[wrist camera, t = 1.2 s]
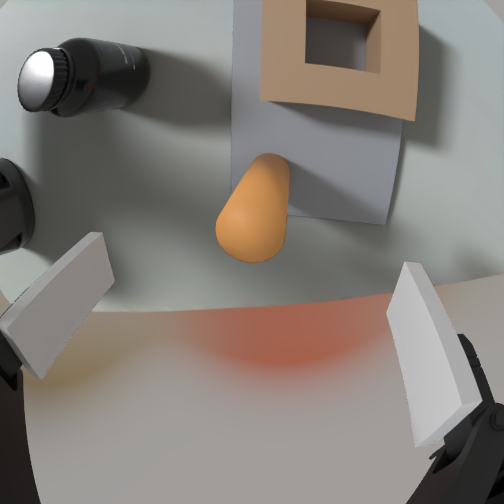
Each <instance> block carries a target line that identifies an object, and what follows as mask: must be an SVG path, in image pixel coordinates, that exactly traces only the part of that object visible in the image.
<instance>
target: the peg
mask: <svg viewBox="0 0 504 504" xmlns="http://www.w3.org/2000/svg"><path fill="white" fill-rule="evenodd" d="M289 183H290V168H289V165H288V163H287V162H286V160H285V159H284V158H283V157H281V156H279V155H277V154H274V153H265V154H261V155H259V156H258V157H256V158H255V159H254V161H253V162H252V164H251V165H250V167H249V168H248V170H247V171H246V173H245V174H244V176H243V178H242V179H241V181H240V182H239V184H238V186H237V187H236V189H235V190H234V192H233V194H232V195H231V197H230V198H229V200H228V202H227V203H226V205H225V207H224V208H223V210H222V211H221V213H220V215H219V217H218V219H217V222H216V236H217V239H218V242H219V244H220V245H221V247H222V248H223V249H224V251H225V252H226V253H228V254H229V255H230V256H232V257H233V258H235V259H237V260H240V261H243V262H248V263H258V262H263V261H266V260H268V259H270V258H272V257H274V256H275V255H276V254H277V253H278V252H279V251H280V249H281V248H282V246H283V244H284V241H285V234H286V222H287V210H288V197H289Z"/></svg>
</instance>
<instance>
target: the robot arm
mask: <svg viewBox="0 0 504 504" xmlns="http://www.w3.org/2000/svg"><path fill="white" fill-rule="evenodd" d="M33 230H34V212H33V206H32V202H31V198H30V195H29V192H28V189H27V186H26V184H25V182H24V180H23V178H22V176H21V174H20V173H19V171H18V170H17V168H16V167H15V166H14V165H13V164H12V163H11V162H9V161H8V160H6V159H2V158H0V255H3V254H6V253H9V252H12V251H15V250H18V249H19V248H21V247H22V246H23V245H25V244H26V243H27V242H28V241H29V240H30V239H31V237H32V234H33ZM114 282H115V279H114V276H113V272H112V269H111V265H110V261H109V257H108V253H107V249H106V245H105V241H104V237H103V233H100V232H90V233H89V234H87V235H86V236H85V237H84V238H83V239H81V240H80V241H79V242H78V243H77V244H76V245H74V246H73V247H72V248H71V249H70V250H69V251H67V252H66V253H65V254H64V255H63V256H62V257H61V258H60V259H59V260H57V261H56V262H55V263H54V264H53V265H52V266H51V267H50V268H49V269H48V270H47V271H46V272H45V273H43V274H42V275H41V276H40V277H39V278H38V279H37V280H36V281H35V282H34V283H33V284H32V285H31V286H30V287H28V288H27V289H26V290H25V291H24V292H23V293H22V294H21V295H20V297H18V298H17V299H16V300H15V303H13V304H12V305H11V306H10V307H9V308H8V309H7V310H6V311H5V312H4V313H3V315H2V316H1V317H0V504H41V503H40V499H39V496H38V492H37V488H36V484H35V480H34V475H33V470H32V465H31V461H30V454H29V448H28V441H27V433H26V423H25V412H24V393H23V372H22V370H21V369H20V367H21V366H22V364H23V365H24V366H25V368H26V369H27V370H28V372H29V373H30V374H31V375H33V376H35V377H36V378H38V379H40V380H42V379H43V377H44V376H45V374H46V373H47V371H48V370H49V368H50V367H51V365H52V364H53V362H54V361H55V360H56V358H57V357H58V355H59V354H60V352H61V351H62V350H63V348H64V347H65V345H66V344H67V343H68V341H69V340H70V338H71V337H72V336H73V334H74V333H75V332H76V330H77V329H78V328H79V326H80V325H81V324H82V322H83V321H84V320H85V318H86V317H87V316H88V314H89V313H90V312H91V311H92V309H93V308H94V307H95V306H96V304H97V303H98V302H99V301H100V299H101V298H102V297H103V296H104V294H105V293H106V292H107V291H108V289H109V288H110V287H111V286H112V284H113V283H114ZM386 314H387V318H388V321H389V324H390V328H391V332H392V336H393V339H394V343H395V347H396V351H397V355H398V359H399V364H400V368H401V372H402V377H403V381H404V386H405V391H406V396H407V401H408V407H409V412H410V418H411V424H412V431H413V437H414V444H415V448H420V447H426V446H431V445H435V444H436V443H437V442H438V441H439V440H441V439H442V438H443V437H444V441H445V445H444V446H442V447H441V448H440V449H438V450H437V451H436V452H435V453H433V454H432V455H431V456H430V457H429V459H430V460H431V459H433V458H434V457H435V456H436V458H435V460H434V462H433V463H432V465H431V467H430V468H429V470H428V472H427V473H426V475H425V476H424V478H423V480H422V481H421V483H420V484H419V486H418V487H417V489H416V490H415V492H414V493H413V495H412V496H411V497H410V499H409V500H408V501H407V503H406V504H504V405H503V404H500V403H495V401H494V399H493V396H492V393H491V390H490V387H489V384H488V382H487V379H486V376H485V374H484V371H483V369H482V367H481V364H480V361H479V359H478V358H477V354H476V352H475V350H474V348H473V345H472V344H471V343H470V341H469V340H468V339H467V338H466V337H465V335H463V334H456V331H455V329H454V327H453V325H452V323H451V321H450V319H449V316H448V314H447V312H446V310H445V308H444V306H443V304H442V302H441V300H440V298H439V296H438V294H437V293H436V291H435V289H434V287H433V285H432V283H431V281H430V279H429V278H428V276H427V274H426V272H425V271H424V269H423V267H422V265H421V264H420V263H415V262H405V261H404V265H403V268H402V271H401V274H400V277H399V279H398V282H397V285H396V288H395V291H394V293H393V296H392V299H391V302H390V304H389V307H388V309H387V312H386Z"/></svg>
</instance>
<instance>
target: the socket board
mask: <svg viewBox="0 0 504 504" xmlns="http://www.w3.org/2000/svg"><path fill="white" fill-rule="evenodd" d="M418 73H419V21H418V4H417V0H234V17H233V51H232V106H231V195H232V194H233V192H234V190H235V189H236V187H237V186H238V184H239V182H240V181H241V179H242V178H243V176H244V174H245V173H246V171H247V170H248V168H249V167H250V165H251V164H252V162H253V161H254V159H255V158H256V157H258V156H259V155H261V154H265V153H274V154H277V155H279V156H281V157H283V158H284V159H285V160H286V162H287V163H288V165H289V168H290V183H289V197H288V210H287V215H292V216H303V217H313V218H323V219H333V220H342V221H351V222H360V223H369V224H377V225H385V223H386V219H387V214H388V210H389V205H390V200H391V195H392V190H393V185H394V180H395V174H396V168H397V162H398V156H399V149H400V142H401V134H402V125H403V119H405V120H409V121H413V122H415V115H416V104H417V91H418Z"/></svg>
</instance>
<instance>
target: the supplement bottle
mask: <svg viewBox="0 0 504 504" xmlns="http://www.w3.org/2000/svg"><path fill="white" fill-rule="evenodd" d="M148 78H149V64H148V61H147V58H146V56H145V55H144V54H143V52H142V51H140V50H139V49H138V48H136V47H133V46H130V45H125V44H120V43H115V42H109V41H103V40H96V39H89V38H73V39H70V40H67V41H65V42H63V43H62V44H60V45H59V46H58V47H54V48H42V49H38V50H37V51H34V52H33V54H31V55H30V56H29V57H28V58H27V60H26V62H25V63H24V65H23V67H22V68H21V72H20V74H19V79H18V97H19V101H20V103H21V105H22V106H23V108H24V109H26V111H29V112H38V111H49V112H50V113H52V114H53V115H55V116H58V117H63V118H66V117H73V116H78V115H82V114H88V113H93V112H98V111H104V110H110V109H116V108H121V107H125V106H127V105H129V104H131V103H132V102H134V101H135V100H136V99H137V98H138V97H139V96H140V95H141V94H142V92H143V91H144V89H145V87H146V85H147V82H148Z"/></svg>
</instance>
